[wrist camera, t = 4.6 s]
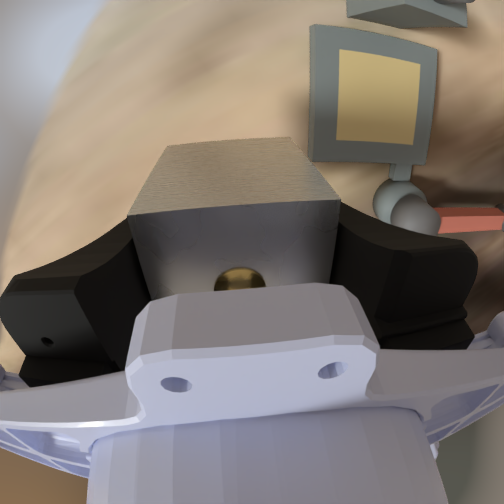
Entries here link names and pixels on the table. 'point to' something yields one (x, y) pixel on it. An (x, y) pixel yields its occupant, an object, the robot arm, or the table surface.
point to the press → (377, 91)
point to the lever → (444, 217)
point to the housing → (234, 218)
